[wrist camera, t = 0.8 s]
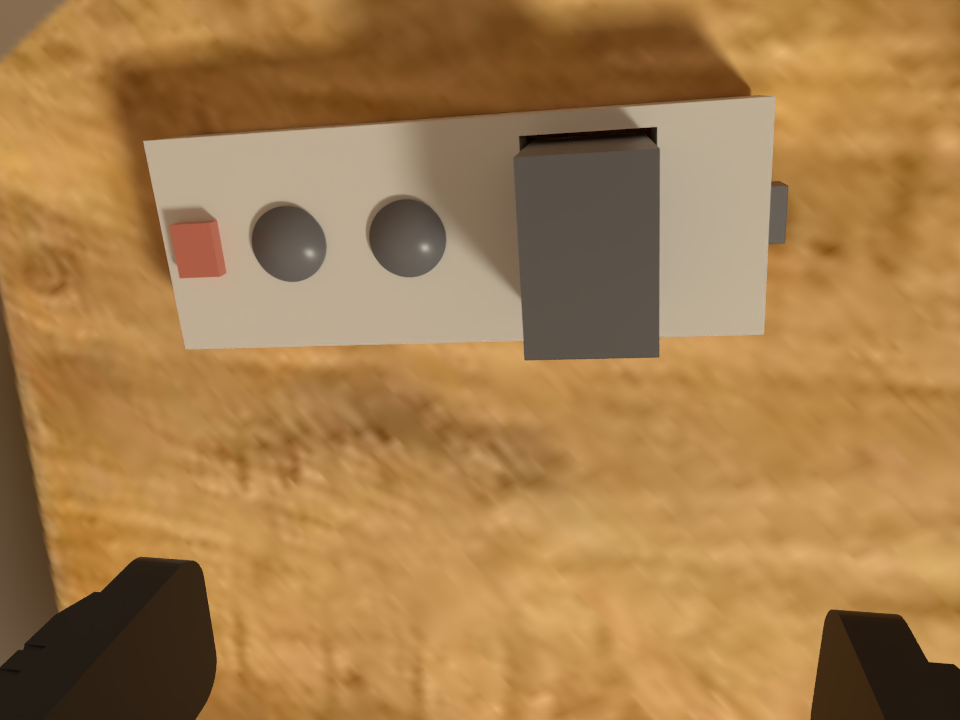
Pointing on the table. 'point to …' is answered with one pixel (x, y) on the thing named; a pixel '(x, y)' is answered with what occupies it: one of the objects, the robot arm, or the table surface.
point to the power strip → (444, 225)
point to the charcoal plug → (589, 246)
